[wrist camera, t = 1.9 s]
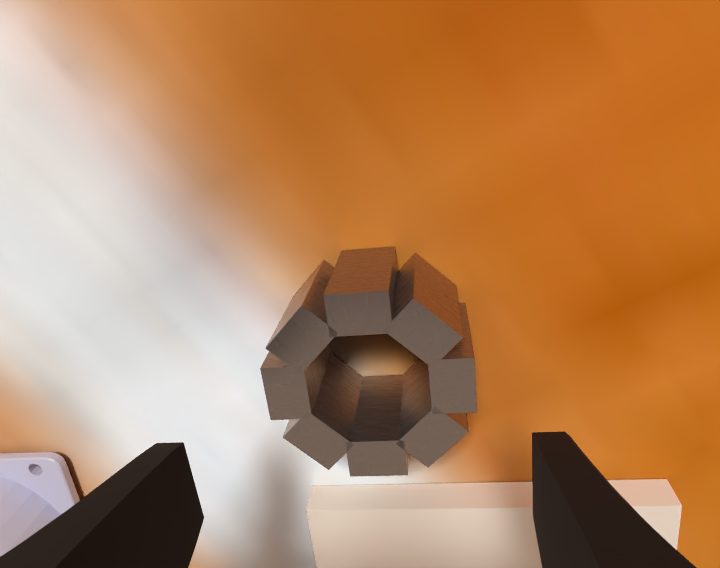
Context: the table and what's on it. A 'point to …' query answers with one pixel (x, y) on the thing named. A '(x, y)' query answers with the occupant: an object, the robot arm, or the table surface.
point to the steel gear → (373, 393)
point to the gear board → (451, 523)
